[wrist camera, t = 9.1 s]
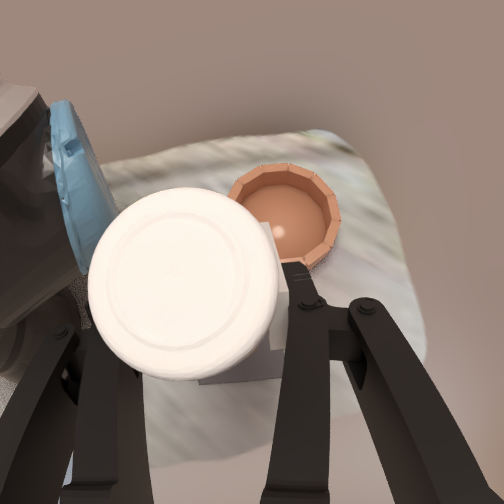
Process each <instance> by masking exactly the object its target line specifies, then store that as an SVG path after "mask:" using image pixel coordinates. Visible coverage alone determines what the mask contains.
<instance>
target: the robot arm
mask: <svg viewBox="0 0 504 504" xmlns="http://www.w3.org/2000/svg"><path fill="white" fill-rule="evenodd" d="M118 215H119V212H118V210H117V207H116V204H115V202H114V199H113V197H112V194H111V192H110V189H109V187H108V184H107V182H106V180H105V177H104V175H103V172H102V170H101V168H100V165H99V163H98V160H97V158H96V156H95V153H94V151H93V149H92V146H91V144H90V141H89V139H88V137H87V134H86V132H85V130H84V128H83V125H82V123H81V121H80V119H79V117H78V115H77V113H76V112H75V110H74V106H73V105H72V103H71V102H70V101H68V100H62V101H59V102H58V101H56V102H54V103H52V104H51V107H50V108H49V107H48V106H47V105H46V104H45V102H44V101H43V99H42V97H41V96H40V94H39V92H38V91H37V89H36V88H35V87H31V86H22V85H13V84H9V83H8V82H7V81H5V80H4V78H3V77H2V75H1V73H0V376H2V377H4V378H6V379H8V380H10V381H12V382H14V383H16V384H18V385H17V387H16V389H15V391H14V393H13V395H12V396H11V398H10V400H9V402H8V404H7V406H6V408H5V410H4V412H3V414H2V416H1V418H0V504H58V500H59V496H60V504H154V501H153V495H152V487H151V480H150V473H149V463H148V454H147V444H146V432H145V419H144V403H143V380H142V372H139V371H137V370H136V369H134V368H132V367H131V366H129V365H128V364H126V363H125V362H124V361H123V360H121V359H120V358H119V357H117V356H116V354H115V353H114V352H113V351H112V350H111V349H110V348H109V347H108V345H107V344H106V343H105V341H104V340H103V338H102V337H101V335H100V333H99V331H98V329H97V327H96V325H95V322H94V320H93V317H92V313H91V310H90V306H89V301H88V302H87V303H86V305H85V309H86V311H87V314H88V316H89V318H90V321H91V323H92V326H91V328H89V329H85V330H82V331H81V323H80V316H79V311H78V308H77V305H76V302H75V300H74V297H73V295H72V294H71V292H70V290H69V289H68V288H67V285H69V284H70V283H71V282H73V281H74V280H76V279H77V278H78V277H80V276H81V275H84V276H85V275H86V274H87V273H88V272H89V268H90V264H91V260H92V257H93V254H94V251H95V249H96V246H97V244H98V242H99V240H100V239H101V237H102V235H103V234H104V232H105V231H106V229H107V228H108V227H109V225H110V224H111V223H112V222H113V221H114V220H115V218H116V217H117V216H118ZM260 224H261V225H262V227H263V229H264V230H265V232H266V233H267V235H268V237H269V239H270V241H271V244H272V246H273V249H274V251H275V254H276V258H277V264H278V269H279V295H278V300H277V305H276V310H275V314H274V317H273V320H272V322H271V325H270V327H269V329H268V336H269V343H270V349H271V350H279V349H285V357H284V365H283V373H282V381H281V388H280V396H279V403H278V410H277V417H276V424H275V431H274V438H273V444H272V451H271V457H270V463H269V470H268V475H267V481H266V485H265V488H264V490H263V492H262V496H261V500H260V504H330V493H329V490H328V477H329V476H328V475H329V451H330V450H329V449H330V360H337V361H343V365H344V367H345V370H346V372H347V375H348V377H349V380H350V382H351V385H352V387H353V390H354V392H355V395H356V397H357V400H358V403H359V405H360V408H361V410H362V413H363V416H364V418H365V421H366V423H367V426H368V429H369V431H370V434H371V437H372V439H373V442H374V445H375V448H376V450H377V453H378V456H379V459H380V462H381V464H382V467H383V470H384V473H385V476H386V478H387V481H388V484H389V487H390V490H391V493H392V496H393V498H394V502H395V504H504V501H503V500H502V499H501V498H500V497H499V496H498V495H497V494H496V493H495V492H494V491H493V490H492V489H490V488H489V486H488V484H487V482H486V480H485V478H484V476H483V473H482V471H481V469H480V467H479V465H478V463H477V461H476V459H475V457H474V455H473V453H472V452H471V450H470V448H469V446H468V444H467V442H466V440H465V438H464V436H463V434H462V432H461V431H460V429H459V427H458V425H457V423H456V421H455V420H454V418H453V416H452V415H451V412H450V411H449V409H448V407H447V405H446V404H445V402H444V400H443V398H442V397H441V395H440V393H439V392H438V390H437V389H436V387H435V385H434V383H433V381H432V380H431V378H430V377H429V375H428V373H427V372H426V370H425V368H424V367H423V365H422V363H421V362H420V360H419V359H418V357H417V355H416V354H415V352H414V351H413V349H412V348H411V346H410V344H409V343H408V341H407V340H406V338H405V337H404V335H403V334H402V332H401V331H400V329H399V328H398V326H397V325H396V323H395V322H394V320H393V319H392V317H391V316H390V314H389V313H388V311H387V310H386V308H385V307H384V305H383V304H382V303H381V302H380V301H378V300H376V299H373V298H368V297H364V298H358V299H355V300H353V301H352V302H351V303H350V305H349V308H340V307H333V306H330V305H328V304H327V303H326V300H325V299H324V298H322V297H321V296H319V295H318V293H317V290H316V288H315V286H314V283H313V281H312V279H311V276H310V274H309V271H308V269H307V267H306V266H305V265H304V264H303V263H301V262H300V261H295V262H286V263H281V262H280V259H279V255H278V252H277V249H276V245H275V242H274V238H273V235H272V232H271V228H270V225H269V222H261V223H260ZM73 449H74V450H73ZM72 452H73V468H72V481H71V483H70V484H68V485H64V486H63V487H62V485H63V482H64V478H65V475H66V471H67V468H68V465H69V461H70V458H71V455H72Z"/></svg>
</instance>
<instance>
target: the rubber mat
mask: <svg viewBox="0 0 504 504" xmlns="http://www.w3.org/2000/svg"><path fill="white" fill-rule="evenodd" d="M283 365H284V355H283V349H279V350H271V349H270V343H269V336H268V331H267V333H266V335H265V337H264V338H263V340H262V341H261V342H260V344H259V345H258V347H257V349H256V350H255V351H254V352H253V353H252V354H251V355H250V356H249V357H247V358H245V359H244V360H243V361H242V362H240V363H239V364H237V365H236V366H234V367H232V368H231V369H229V370H227V371H224V372H222V373H220V374H217V375H214V376H211V377H207V378H204V379H199V380H198V381H199V385H205V384H221V383H234V382H245V381H255V380H264V379H273V378H281V377H282V373H283Z"/></svg>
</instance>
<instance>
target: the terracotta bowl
mask: <svg viewBox="0 0 504 504" xmlns="http://www.w3.org/2000/svg"><path fill="white" fill-rule="evenodd" d="M314 174H315V173H314V172H312V171H309V170H306V169H304V168H301V167H298V166H296V165H293V164H290V163H289V166H288V163H281V164H269V165H261V167H260V166H258V167H256V168H255V169H253V170H252V171H250V172H248V173H247V174H245V175H243V176H242V177H240V178H239V179H237V181H235V183H234V185H233V187H232V189H231V191H230V192H229V194H228V196H227V197H228V198H230V199H232V200H234V201H236V202H237V203H239V204H240V205H242V206H243V207H244V208H246V209H247V210H248V211H249V212H250V213H251V214H252V215H253V216H254V217H255V218H256V219H257V221H258V222H259V223H261V222H269V225H270V228H271V232H272V235H273V238H274V242H275V245H276V249H277V252H278V255H279V259H280V262H281V263H286V262H295V261H300V262H301V263H303V264H304V265H305V266H306V267H307V269H308V271H309V270H310V269H312V268H313V267H315V266H316V265H317V264H318V263H319V262H320V261H321V260H322V259H324V258H325V257H326V256H327V254H328V253H329V251H330V249H331V248H332V246H333V243H334V241H335V238H336V235H337V232H338V229H339V226H340V224H341V222H340V221H341V217H340V213H339V208H338V204H337V200H336V196H335V195H334V192H333V191H332V190H331V189H330V188H329V187H328V186H327V185H326V183H325V182H324V181H323V180H322V179H321V178H320V177H319V176H318V175H317V174H315V175H314Z"/></svg>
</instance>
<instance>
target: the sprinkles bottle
mask: <svg viewBox="0 0 504 504" xmlns="http://www.w3.org/2000/svg"><path fill="white" fill-rule="evenodd" d="M278 295H279V269H278V264H277V258H276V254H275V251H274V249H273V246H272V244H271V241H270V239H269V237H268V235H267V233H266V232H265V230H264V229H263V227H262V225H261V224H260V223H259V222H258V221H257V219H256V218H255V217H254V216H253V215H252V214H251V213H250V212H249V211H248V210H247V209H246V208H244V207H243V206H242V205H240V204H239V203H237V202H236V201H234V200H232V199H230V198H228V197H226V196H224V195H222V194H219V193H217V192H214V191H210V190H206V189H201V188H173V189H168V190H163V191H160V192H156V193H153V194H151V195H148V196H146V197H144V198H142V199H140V200H138V201H137V202H135V203H134V204H132V205H131V206H129V207H128V208H126V209H125V210H124V211H123V212H122V213H120V214H119V215H118V216H117V217H116V218H115V220H114V221H113V222H112V223H111V224H110V225H109V227H108V228H107V229H106V231H105V232H104V234H103V235H102V237H101V239H100V240H99V242H98V244H97V246H96V249H95V251H94V254H93V257H92V260H91V264H90V268H89V274H88V300H89V306H90V310H91V313H92V317H93V320H94V322H95V325H96V327H97V329H98V331H99V333H100V335H101V337H102V338H103V340H104V341H105V343H106V344H107V345H108V347H109V348H110V349H111V350H112V351H113V352H114V353H115V354H116V356H117V357H119V358H120V359H121V360H123V361H124V362H125V363H126V364H128V365H129V366H131V367H132V368H134V369H136V370H137V371H139V372H142V373H144V374H146V375H149V376H152V377H155V378H159V379H164V380H170V381H192V380H199V379H204V378H207V377H211V376H214V375H217V374H220V373H222V372H224V371H227V370H229V369H231V368H232V367H234V366H236V365H237V364H239V363H240V362H242V361H243V360H244V359H245V358H247V357H249V356H250V355H251V354H252V353H253V352H254V351H255V350H256V349H257V347H258V345H259V344H260V342H261V341H262V340H263V338H264V337H265V335H266V333H267V331H268V329H269V327H270V325H271V322H272V320H273V317H274V314H275V310H276V305H277V300H278Z"/></svg>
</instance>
